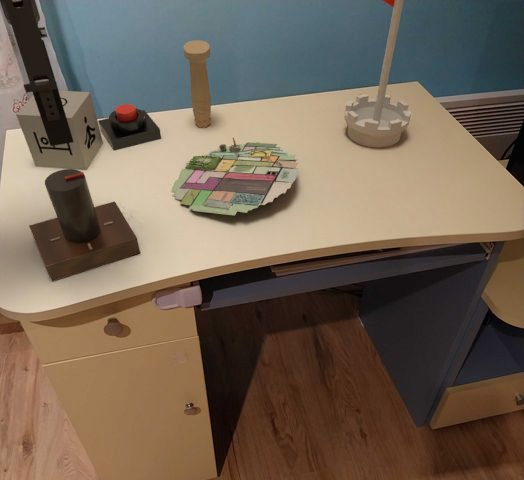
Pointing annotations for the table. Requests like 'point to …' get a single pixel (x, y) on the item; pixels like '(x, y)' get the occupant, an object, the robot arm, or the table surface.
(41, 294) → the table surface
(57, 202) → the knob
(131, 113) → the button
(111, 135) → the button box
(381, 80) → the flag stand
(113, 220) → the panel
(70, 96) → the icon cube
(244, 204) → the city model
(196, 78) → the handle
